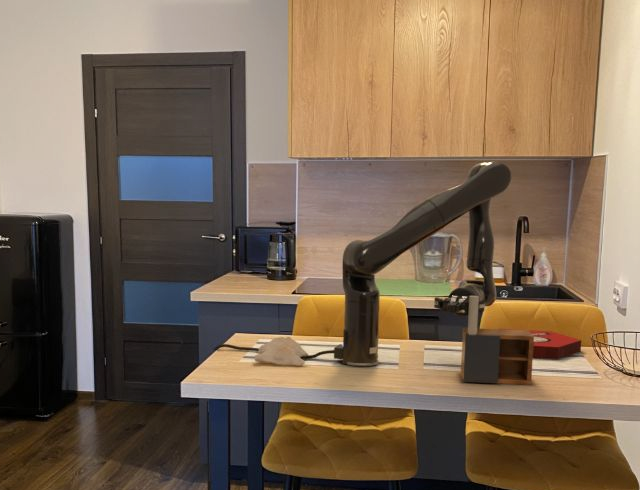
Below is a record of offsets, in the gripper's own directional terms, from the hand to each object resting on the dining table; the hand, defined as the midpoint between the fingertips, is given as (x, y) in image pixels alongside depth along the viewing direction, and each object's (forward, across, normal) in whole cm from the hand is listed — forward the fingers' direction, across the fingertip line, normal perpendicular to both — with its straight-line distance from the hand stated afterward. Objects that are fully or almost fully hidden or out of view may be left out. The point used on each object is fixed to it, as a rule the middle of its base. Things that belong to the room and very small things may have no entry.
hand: (451, 308), depth 176 cm
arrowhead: (-13, -49, +19) cm, 54 cm away
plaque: (-54, +12, +19) cm, 58 cm away
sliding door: (-5, +7, +18) cm, 20 cm away
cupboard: (-10, +9, +18) cm, 23 cm away
